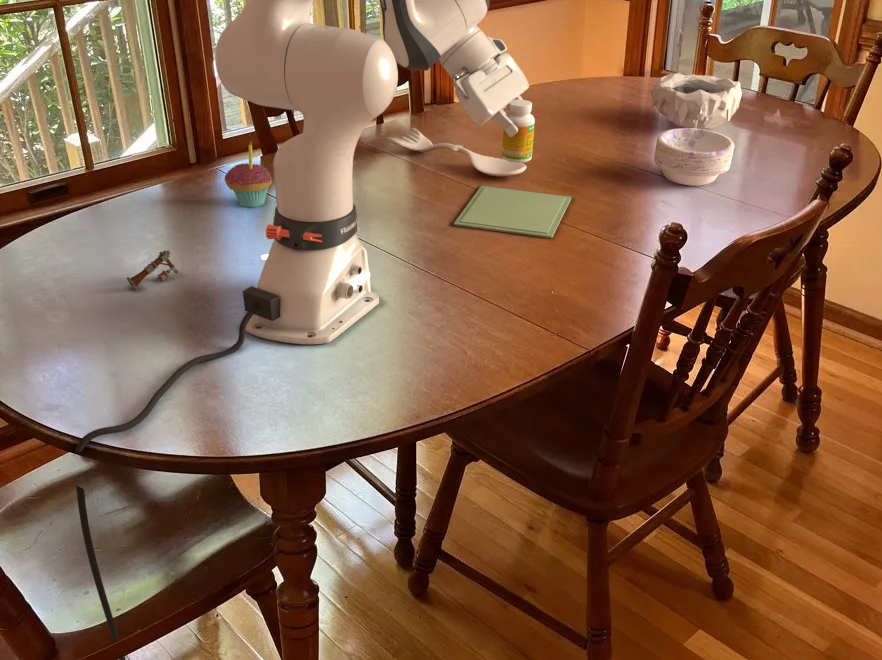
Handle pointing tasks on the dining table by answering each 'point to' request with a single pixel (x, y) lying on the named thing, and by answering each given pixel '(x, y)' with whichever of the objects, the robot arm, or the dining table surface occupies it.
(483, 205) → the placemat
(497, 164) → the white spork utensil
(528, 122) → the supplement bottle
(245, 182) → the cupcake
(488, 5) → the robot arm
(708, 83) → the bowl
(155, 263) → the wooden post with brackets
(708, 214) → the dining table surface
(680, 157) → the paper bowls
